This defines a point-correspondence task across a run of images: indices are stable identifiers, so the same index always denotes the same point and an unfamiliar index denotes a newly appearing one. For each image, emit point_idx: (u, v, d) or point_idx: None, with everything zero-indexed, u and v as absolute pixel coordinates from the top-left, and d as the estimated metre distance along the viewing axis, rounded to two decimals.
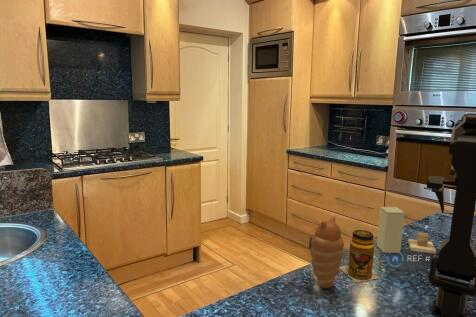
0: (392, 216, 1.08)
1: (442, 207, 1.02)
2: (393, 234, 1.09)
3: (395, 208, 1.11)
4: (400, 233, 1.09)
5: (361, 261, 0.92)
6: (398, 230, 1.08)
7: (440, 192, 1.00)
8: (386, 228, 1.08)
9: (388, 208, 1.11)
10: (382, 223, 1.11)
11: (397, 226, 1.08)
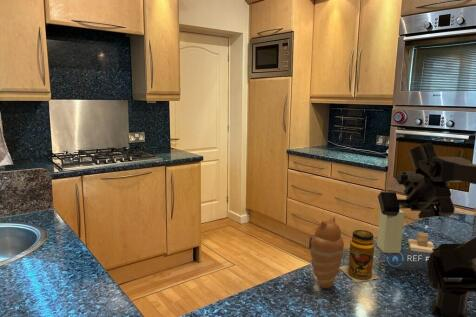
0: None
1: (389, 217, 1.00)
2: (393, 234, 1.09)
3: None
4: (400, 233, 1.09)
5: (361, 261, 0.92)
6: (398, 230, 1.08)
7: (394, 215, 0.95)
8: (386, 228, 1.08)
9: None
10: (382, 223, 1.11)
11: (397, 226, 1.08)
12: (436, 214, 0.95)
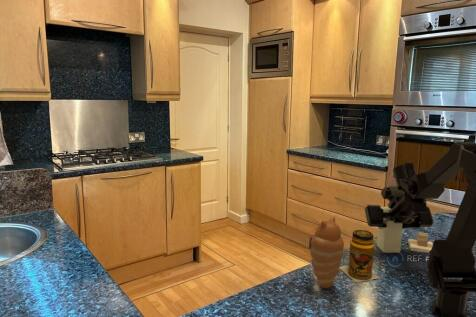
0: None
1: None
2: (392, 234, 1.09)
3: None
4: (399, 233, 1.09)
5: (361, 261, 0.92)
6: (397, 230, 1.08)
7: (384, 227, 1.05)
8: (385, 228, 1.08)
9: (387, 208, 1.11)
10: None
11: (397, 226, 1.08)
12: (412, 226, 1.05)
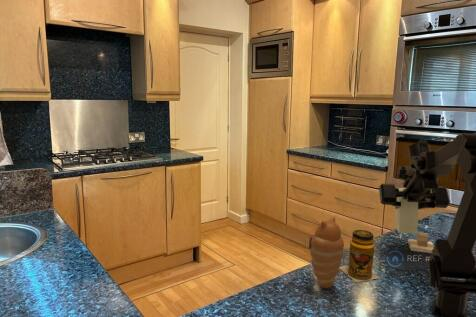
0: None
1: (397, 208, 1.11)
2: (408, 214, 1.09)
3: None
4: (416, 213, 1.08)
5: (361, 261, 0.92)
6: (413, 210, 1.08)
7: (399, 205, 1.06)
8: (400, 208, 1.09)
9: None
10: None
11: (412, 206, 1.08)
12: (426, 205, 1.05)
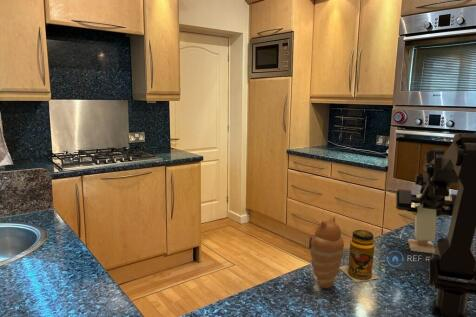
0: None
1: (415, 214, 1.12)
2: (426, 221, 1.09)
3: None
4: (434, 220, 1.09)
5: (361, 261, 0.92)
6: (431, 217, 1.09)
7: (414, 212, 1.07)
8: (418, 215, 1.10)
9: None
10: None
11: (430, 213, 1.09)
12: (443, 213, 1.05)
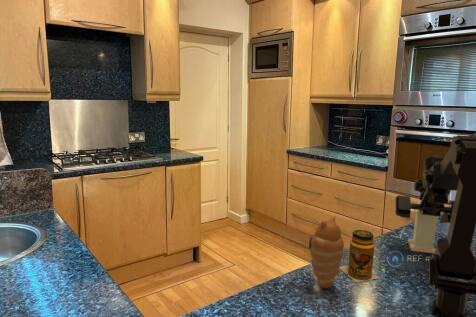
0: None
1: (408, 219, 1.13)
2: (425, 230, 1.10)
3: None
4: (433, 230, 1.09)
5: (361, 261, 0.92)
6: (431, 226, 1.09)
7: (407, 217, 1.08)
8: (418, 223, 1.10)
9: None
10: (416, 218, 1.13)
11: (430, 222, 1.09)
12: (449, 220, 1.05)
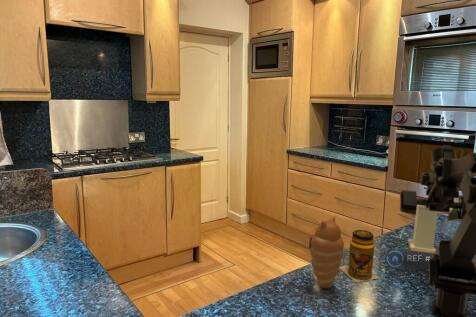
0: (424, 211, 1.09)
1: (413, 216, 1.04)
2: (425, 230, 1.10)
3: None
4: (433, 230, 1.09)
5: (361, 261, 0.92)
6: (431, 226, 1.09)
7: (413, 214, 1.00)
8: (418, 223, 1.10)
9: None
10: (416, 218, 1.13)
11: (430, 222, 1.09)
12: (459, 217, 0.96)
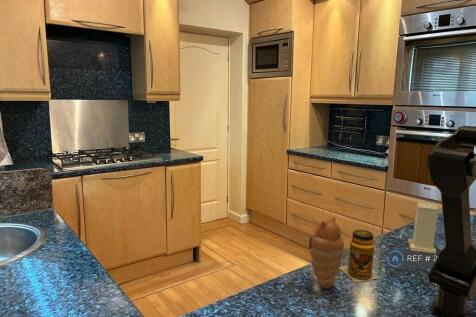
0: (424, 211, 1.09)
1: None
2: (425, 230, 1.10)
3: (432, 205, 1.12)
4: (433, 230, 1.09)
5: (361, 261, 0.92)
6: (431, 226, 1.09)
7: None
8: (418, 223, 1.10)
9: (424, 204, 1.12)
10: (416, 218, 1.13)
11: (430, 222, 1.09)
12: None
